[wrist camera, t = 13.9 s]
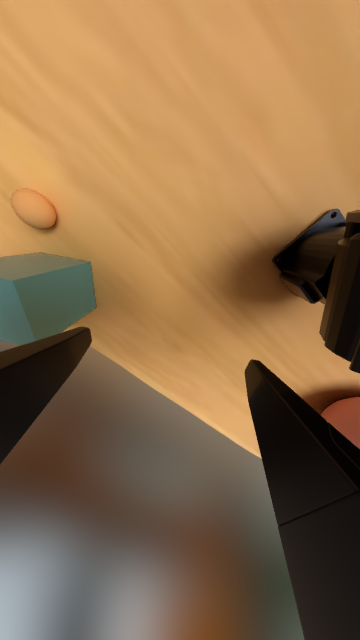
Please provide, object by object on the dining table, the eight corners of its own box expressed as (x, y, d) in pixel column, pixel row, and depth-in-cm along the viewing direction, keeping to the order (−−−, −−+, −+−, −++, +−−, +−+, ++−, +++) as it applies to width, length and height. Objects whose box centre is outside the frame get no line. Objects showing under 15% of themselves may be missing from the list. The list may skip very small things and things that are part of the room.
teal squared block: (90, 261, 20) (12, 280, 11) (96, 307, 23) (38, 348, 15) (41, 252, 20) (-72, 264, 12) (53, 299, 23) (-28, 335, 15)
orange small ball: (38, 184, 16) (3, 173, 13) (68, 210, 17) (41, 205, 14) (30, 213, 18) (-4, 208, 15) (57, 236, 19) (31, 236, 16)
